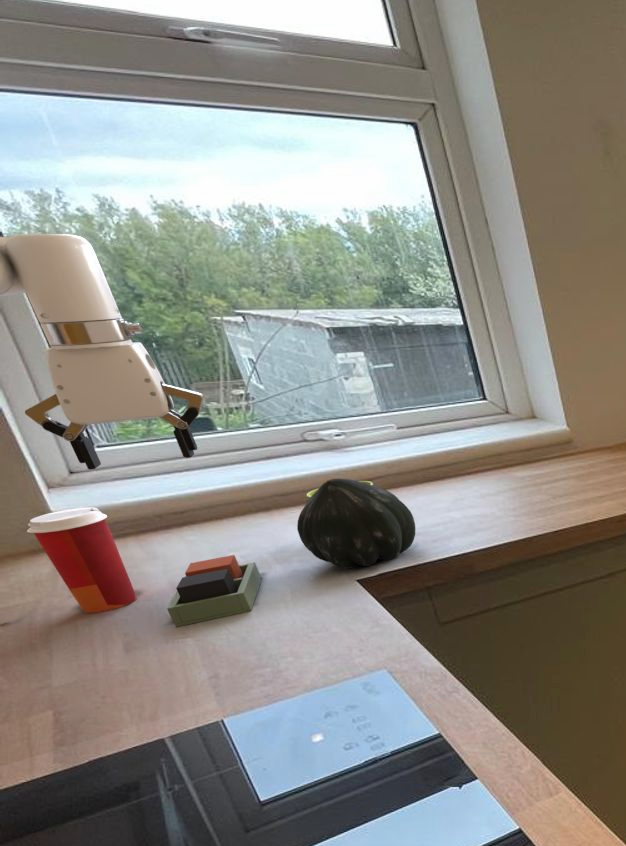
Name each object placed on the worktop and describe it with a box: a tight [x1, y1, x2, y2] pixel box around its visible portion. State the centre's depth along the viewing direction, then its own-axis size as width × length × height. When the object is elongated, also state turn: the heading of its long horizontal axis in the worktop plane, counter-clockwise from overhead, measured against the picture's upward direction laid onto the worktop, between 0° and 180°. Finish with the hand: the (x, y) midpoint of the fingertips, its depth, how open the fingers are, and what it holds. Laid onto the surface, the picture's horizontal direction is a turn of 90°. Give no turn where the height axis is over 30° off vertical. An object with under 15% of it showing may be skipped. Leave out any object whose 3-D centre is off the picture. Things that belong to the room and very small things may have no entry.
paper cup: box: [26, 506, 137, 614], centre depth 116 cm, size 8×8×14 cm
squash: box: [296, 478, 416, 569], centre depth 130 cm, size 14×15×15 cm
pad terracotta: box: [184, 554, 243, 579], centre depth 120 cm, size 5×5×4 cm
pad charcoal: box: [175, 569, 238, 604], centre depth 115 cm, size 5×5×4 cm
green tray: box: [166, 561, 263, 628], centre depth 118 cm, size 8×15×3 cm, turn 36°
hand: (143, 461), depth 113 cm, fingers open, 9 cm apart
